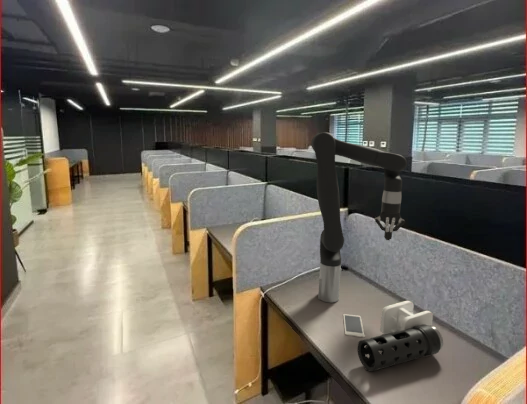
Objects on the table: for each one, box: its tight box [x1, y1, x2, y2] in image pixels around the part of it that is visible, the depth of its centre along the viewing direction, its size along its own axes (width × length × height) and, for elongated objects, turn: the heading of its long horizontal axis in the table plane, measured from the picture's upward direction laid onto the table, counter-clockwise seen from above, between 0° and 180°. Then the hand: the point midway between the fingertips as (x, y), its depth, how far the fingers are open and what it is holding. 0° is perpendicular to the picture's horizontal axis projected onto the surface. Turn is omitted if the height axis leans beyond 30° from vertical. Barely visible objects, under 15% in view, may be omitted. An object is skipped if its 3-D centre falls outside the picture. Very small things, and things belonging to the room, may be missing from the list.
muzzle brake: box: [356, 324, 444, 372], centre depth 102 cm, size 10×28×10 cm, turn 110°
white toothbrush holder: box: [379, 300, 434, 335], centre depth 114 cm, size 15×11×12 cm
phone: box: [342, 313, 366, 339], centre depth 122 cm, size 7×14×1 cm, turn 169°
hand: (387, 239), depth 136 cm, fingers closed
